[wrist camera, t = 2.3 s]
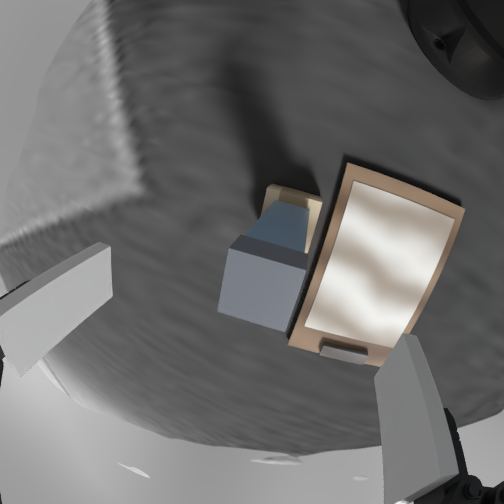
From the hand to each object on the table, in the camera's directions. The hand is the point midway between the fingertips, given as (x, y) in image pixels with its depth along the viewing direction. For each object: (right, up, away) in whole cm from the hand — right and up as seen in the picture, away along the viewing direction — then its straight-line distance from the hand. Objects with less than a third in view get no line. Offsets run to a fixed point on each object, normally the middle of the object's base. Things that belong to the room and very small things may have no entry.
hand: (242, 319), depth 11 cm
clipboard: (+14, -1, +17) cm, 22 cm away
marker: (+4, +6, +15) cm, 17 cm away
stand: (+4, +6, +16) cm, 18 cm away
